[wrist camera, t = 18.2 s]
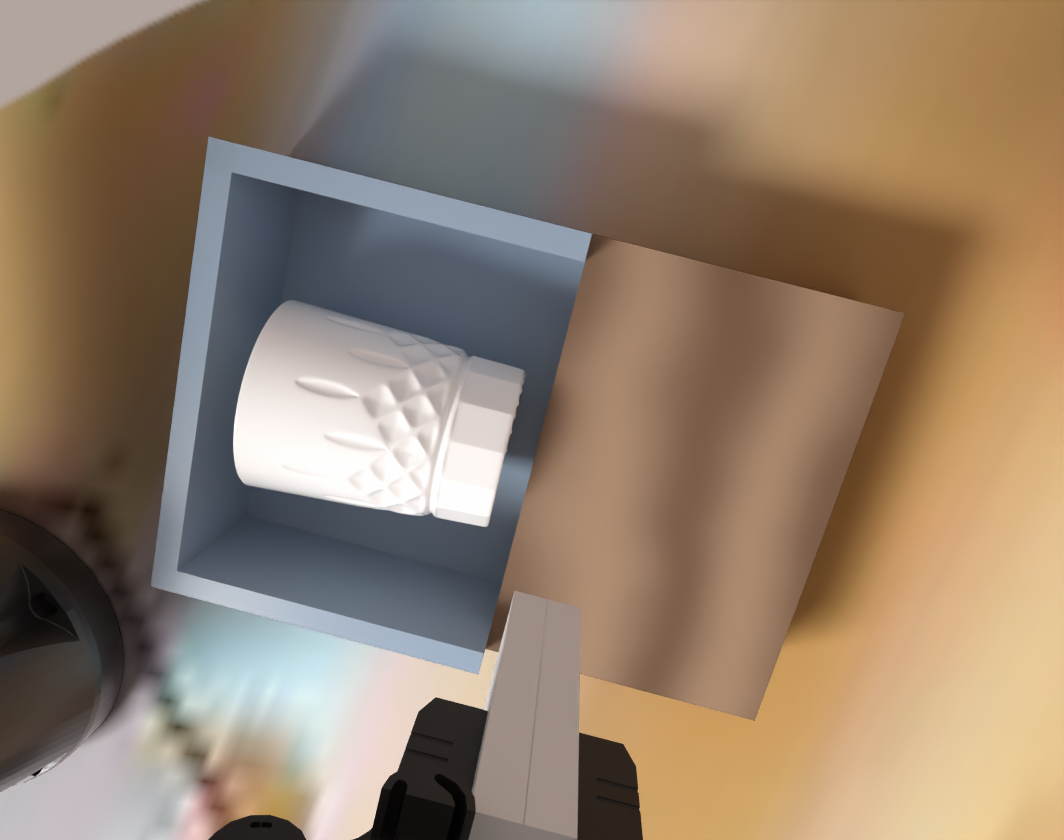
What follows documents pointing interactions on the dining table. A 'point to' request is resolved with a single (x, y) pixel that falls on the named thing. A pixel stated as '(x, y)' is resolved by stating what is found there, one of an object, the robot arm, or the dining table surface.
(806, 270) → the dining table surface
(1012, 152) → the dining table surface
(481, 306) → the box
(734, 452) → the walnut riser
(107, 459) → the dining table surface
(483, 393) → the white cup
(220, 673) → the dining table surface
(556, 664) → the robot arm
